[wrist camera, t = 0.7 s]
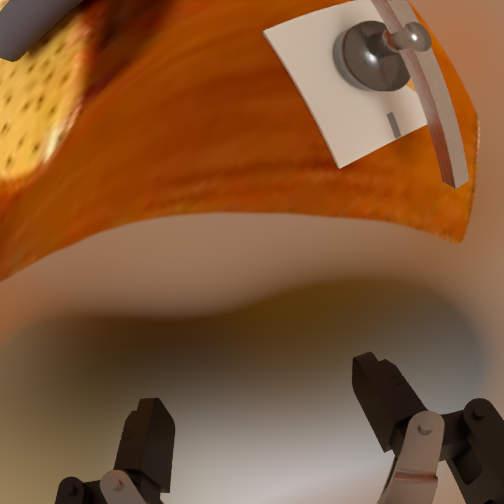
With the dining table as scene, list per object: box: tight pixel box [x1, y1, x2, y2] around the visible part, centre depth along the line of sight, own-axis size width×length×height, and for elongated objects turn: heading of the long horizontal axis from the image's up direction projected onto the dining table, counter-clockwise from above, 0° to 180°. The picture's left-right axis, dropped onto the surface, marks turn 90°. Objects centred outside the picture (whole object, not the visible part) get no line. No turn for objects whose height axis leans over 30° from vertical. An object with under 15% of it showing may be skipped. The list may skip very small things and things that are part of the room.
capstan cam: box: [333, 0, 469, 189], centre depth 23 cm, size 21×9×12 cm, turn 30°
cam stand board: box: [262, 0, 428, 168], centre depth 28 cm, size 20×18×1 cm
